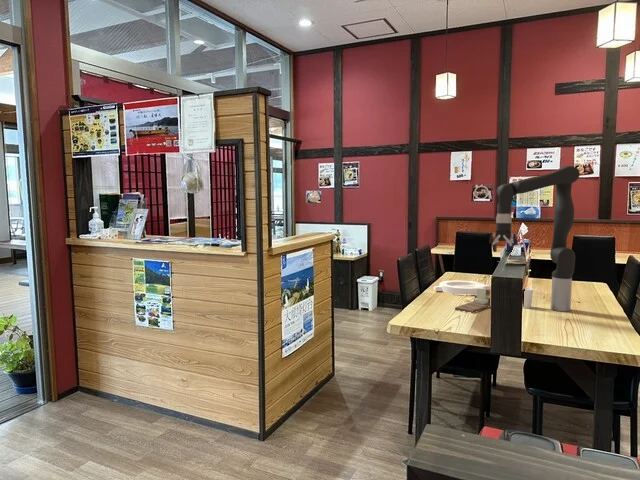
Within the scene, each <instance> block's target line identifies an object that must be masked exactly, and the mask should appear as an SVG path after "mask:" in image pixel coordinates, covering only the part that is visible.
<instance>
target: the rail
mask: <svg viewBox="0 0 640 480" xmlns="http://www.w3.org/2000/svg"><path fill="white" fill-rule="evenodd" d="M475 298H477V295H476V296H474V299H475ZM490 298H491V297H488V296H486V299H489V300H488V303H486V304H480V303H474V300H473V301H469V302H467V303H463V304H460V305H458V306H455V307H454V310H455V311H458V310H460V311H459V312H463V311H465V312H464V313H468V312H471V313H470V314H475V313H477V312H476V311H478V312H480V311H482V310H481V309H483V308H486V307H488V306H490ZM488 308H489V307H488ZM486 309H487V308H486ZM479 310H480V311H479ZM483 310H484V309H483ZM474 312H475V313H474Z"/></svg>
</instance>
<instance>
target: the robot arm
mask: <svg viewBox="0 0 640 480" xmlns="http://www.w3.org/2000/svg"><path fill="white" fill-rule="evenodd" d="M580 176H581V174H580V171H579V168H577V166H573V165H565V166H562V167H560V168H558V169H557V170H556V171H554V172H551V173H548V174H547V173H546V174H543V175H537V176H533V177H528V178H524V179H520V180H517V181H515V182H509V183H504V184H501V185H499V186H498V187H497V188H496V195H497V196H498V197H499V198H498V203H497V206H496V207H497V209H496V218H495V223H496V225H495V232H489V238H488V243H489V244H491V245H492V251H493V253H497V248H498V247H497V244H498V243H499V242H506V243H507V244H508V245H509V251H508V253H509V254H512V253H513V252H512V250H513V248H514V247H515V246H516V245H518V243H519V241H518V233H512V219H513V218H512V204H513V199H514V196H515V195H520V194H525V193H530V192H534V191H537V190H540V189H544V188H548V187H550V186H551V187H552V186H555V198H554V200H555V202H554V211H553V213H554V214H553V230H552V232H553V233H552V242H551V248H550V254H549V255H550V257H549V258H550V259H551V261H552V262H553V263H554V264H556V269H555V270H553V271H552V273H551V297H550V310H553V311H557V312H570V311H571V307H572V306H571V304H572V288H573V287H572V286H573V285H572V284H573V281H572V280H573V274H574V272H575V266H576V254H575V252H574V250H573V249H572V248H569V247H567V242H568V241H567V240H568V236H569V233H570V231H571V230H572V228H573V226H574V222H575V205H574V201H573V197H572V188H573V183H576V182H577V181H578V180H579V178H580ZM495 237H496V238H495ZM512 238H513V240H512ZM513 251H514V250H513ZM511 252H512V253H511Z"/></svg>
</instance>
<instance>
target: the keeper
mask: <svg viewBox="0 0 640 480" xmlns="http://www.w3.org/2000/svg"><path fill="white" fill-rule="evenodd" d="M486 292H487V290H486V288H481V287H480V288H477V295H476V296H477V298H475V297H474V298H473V301H474V303H480V304H486V303H488V300H489V299H486V297H487V296H486V294H487V293H486Z"/></svg>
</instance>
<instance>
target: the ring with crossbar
mask: <svg viewBox="0 0 640 480" xmlns="http://www.w3.org/2000/svg"><path fill="white" fill-rule="evenodd" d="M480 287H481V288H486V291H491V285H489V284H484V283H482V282H478V281H474V280H473V281H470V280H458V279H457V280H455V279H454V280H444V281H440V282H439V285H434V286H433V290H434V292H435V291H439V292H441V291H443V292H447V293H452V294H477V288H480ZM443 292H442V293H443ZM447 293H446V294H447ZM452 294H451V295H452Z"/></svg>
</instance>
